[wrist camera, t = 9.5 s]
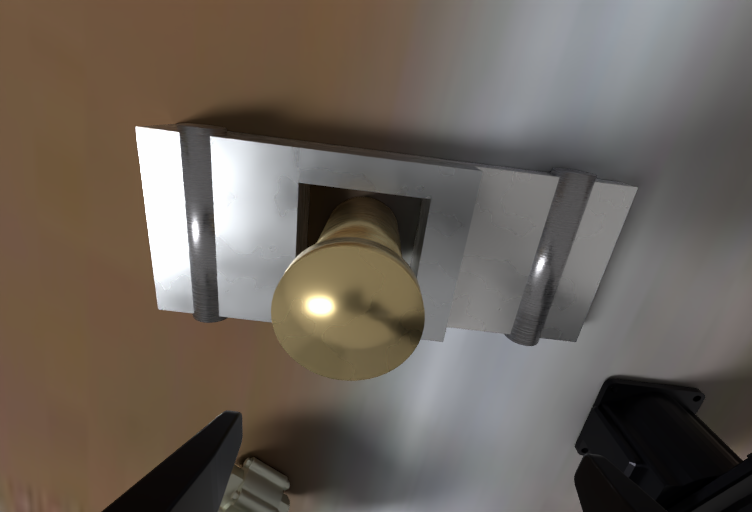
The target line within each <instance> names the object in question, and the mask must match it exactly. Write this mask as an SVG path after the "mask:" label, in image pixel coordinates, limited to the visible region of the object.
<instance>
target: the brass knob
mask: <svg viewBox="0 0 752 512" xmlns="http://www.w3.org/2000/svg"><path fill="white" fill-rule="evenodd" d="M271 320H272V325H273V329H274V331H275V334H276V337H277V338H278V340H279V342H280V344H281V345H282V347H283V348H284V350H285V351H286V352H287V353H288V354H289V355H290V356H291V357H292V358H293V359H294V360H295V361H296V362H297V363H299V364H300V365H302V366H303V367H305V368H306V369H308V370H310V371H312V372H314V373H316V374H319V375H321V376H324V377H328V378H332V379H337V380H347V381H355V380H365V379H370V378H374V377H378V376H380V375H383V374H386V373H388V372H389V371H391V370H393V369H395V368H396V367H398V366H399V365H401V364H402V363H403V362H404V361H405V360H406V359H407V358H408V357H409V356H410V355H411V354H412V353H413V351H414V350H415V348H416V347H417V345H418V343H419V341H420V339H421V337H422V333H423V330H424V323H425V310H424V304H423V299H422V295H421V290H420V286H419V283H418V280H417V278H416V276H415V274H414V272H413V271H412V269H411V268H410V266H409V265H408V264H407V263H406V262H405V260H404V259H403V258H402V253H401V245H400V237H399V229H398V223H397V220H396V218H395V216H394V214H393V212H392V211H391V210H390V209H389V208H388V207H387V206H386V205H385V204H384V203H382V202H381V201H378V200H376V199H374V198H370V197H354V198H351V199H348V200H346V201H344V202H342V203H341V204H339V205H338V206H337V207H336V208H335V209H334V210H333V212H332V214H331V215H330V217H329V219H328V221H327V223H326V225H325V227H324V229H323V231H322V233H321V235H320V237H319V239H318V241H317V243H316V244H314V245H312V246H310V247H309V248H307V249H306V250H304V251H303V252H301V253H300V254H299V255H298V256H297V257H296V258H295V259H294V260H293V261H292V263H291V264H290V265H289V267H288V268H287V270H286V272H285V273H284V275H283V277H282V278H281V280H280V281H279V283H278V285H277V287H276V289H275V292H274V295H273V299H272V304H271Z"/></svg>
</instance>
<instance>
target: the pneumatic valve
mask: <svg viewBox="0 0 752 512" xmlns="http://www.w3.org/2000/svg"><path fill="white" fill-rule="evenodd" d="M287 479H288V478H287V477H286V476H285V475H283V474H281V473H280V472H278V471H276V470H275V469H273V468H271V467H270V466H268V465H266V464H265V463H263V462H261V461H260V460H258V459H256V458H255V457H252V458H249V457H248V458H247V459H246V460H245V462H244V464H243V467H242V468H239V467H238V466H236V465H234V466H233V469H232V472H231V475H230V478H229V481H228V484H227V487H226V490H225V493H224V496H223V499H222V501H221V504H220V507H219V510H218V512H288V510H289V506H290V500H289V498H288V496H287V495H286V494H284V493H283V490H287V489H289V487H290V482H289V481H288V480H287Z"/></svg>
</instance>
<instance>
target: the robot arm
mask: <svg viewBox="0 0 752 512" xmlns="http://www.w3.org/2000/svg"><path fill="white" fill-rule="evenodd" d="M613 386H614V387H613ZM611 387H612V388H611ZM704 399H705V395H704V394H703V393H702V392H701V391H700V390H699V389H697V388H689V387H680V386H672V385H663V384H654V383H645V382H636V381H627V380H619V379H609V380H607V381H605V382H604V384H603V385H602V388H601V390H600V392H599V394H598V396H597V398H596V401H595V403H594V405H593V407H592V409H591V411H590V414H589V416H588V418H587V420H586V422H585V424H584V427H583V429H582V431H581V433H580V435H579V437H578V440H577V442H576V444H575V448H576V450H577V452H578V454H580V455H583V458H582V460H581V462H580V464H579V466H578V468H577V470H576V473H575V476H574V482H575V487H576V490H577V493H578V497H579V500H580V503H581V507H582V510H583V512H752V453H750V454H749V455H747V457H748V458H747V459H745V460H744V461H743V460H742V459H741V458H740V457H738V456H737V455H736V454H735V453H734V452H733V451H732V450H731V449H730V448H729V447H728V446H727V445H726V444H725V443H724V442H723V441H722V440H721V439H720V438H719V437H718V436H717V435H716V434H715V433H714V432H713V431H712V430H711V429H710V428H709V427H708V426H707V425H706V424H705V423H704V422H703V421H702V420H701V419H700V418H699V417H697V416H696V415H695V414H696V413H697V411H698V409H699V408H700V406H701V404H702V403H703V401H704ZM241 442H242V414H241V413H240V412H236V411H224V412H223V413H221V414H220V415H219V416H218V417H216V418H215V419H214V420H213V421H212V422H210V423H209V424H208V425H207V426H206V427H204V428H203V429H202V430H201V431H199V432H198V433H197V434H196V435H195V436H193V437H192V438H191V439H190V440H188V441H187V442H186V443H185V444H184V445H182V446H181V447H180V448H179V449H177V450H176V451H175V452H174V453H173V454H171V455H170V456H169V457H168V458H166V459H165V460H164V461H163V462H162V463H160V464H159V465H158V466H157V467H155V468H154V469H153V470H152V471H151V472H149V473H148V474H147V475H146V476H144V477H143V478H142V479H141V480H140V481H138V482H137V483H136V484H135V485H133V486H132V487H131V488H130V489H129V490H127V491H126V492H125V493H124V494H123V495H121V496H120V497H119V498H118V499H116V500H115V501H114V502H113V503H112V504H110V505H109V506H108V507H107V508H105V509H104V510H103V511H102V512H218V510H219V507H220V504H221V501H222V499H223V496H224V493H225V490H226V487H227V484H228V481H229V478H230V475H231V472H232V469H233V466H234V463H235V460H236V457H237V454H238V451H239V448H240V445H241Z"/></svg>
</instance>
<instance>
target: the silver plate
mask: <svg viewBox="0 0 752 512" xmlns="http://www.w3.org/2000/svg"><path fill="white" fill-rule="evenodd" d="M135 128H136V136H137V144H138V152H139V160H140V168H141V176H142V184H143V192H144V200H145V208H146V216H147V224H148V232H149V239H150V247H151V255H152V263H153V271H154V279H155V287H156V295H157V303H158V309H160V310H169V311H177V312H186V313H193V317H194V318H195V319H196V320H198V321H200V322H207V323H211V322H218V321H222V320H224V319H227V318H228V317H230V318H239V319H247V320H256V321H265V322H272V320H271V304H272V299H273V295H274V292H275V289H276V287H277V285H278V283H279V281H280V280H281V278H282V277H283V275H284V273H285V272H286V270H287V268H288V267H289V265H290V264H291V263H292V261H293V260H294V259H295V258H296V257H297V256H298V255H299V254H300V253H301V252H303V251H304V250H306V249H307V240H308V221H309V202H310V184H314V185H322V186H330V187H338V188H346V189H354V190H362V191H369V192H377V193H385V194H393V195H401V196H409V197H417V198H422V202H421V208H420V214H419V220H418V225H417V231H416V237H415V243H414V248H413V254H412V260H411V266H410V268H411V269H412V271H413V272H414V274H415V276H416V278H417V280H418V283H419V286H420V290H421V295H422V299H423V304H424V310H425V323H424V330H423V333H422V337H421V339H422V340H430V341H439V342H443V340H444V336H445V332H446V327H451V328H459V329H468V330H476V331H485V332H494V333H502V334H505V336H506V337H507V338H509V339H510V340H512V341H513V342H515V343H518V344H521V345H525V346H534V345H536V344H537V343H538V342H539V339H540V338H546V339H554V340H563V341H571V342H576V341H577V338H578V336H579V333H580V331H581V328H582V326H583V323H584V321H585V319H586V316H587V314H588V311H589V309H590V306H591V304H592V301H593V299H594V296H595V294H596V291H597V289H598V286H599V284H600V281H601V279H602V276H603V274H604V271H605V269H606V266H607V264H608V261H609V259H610V256H611V254H612V251H613V249H614V246H615V244H616V241H617V239H618V236H619V234H620V231H621V229H622V226H623V224H624V222H625V219H626V217H627V214H628V212H629V209H630V207H631V204H632V202H633V199H634V197H635V194H636V192H637V189H638V187H635V186H632V185H628V184H625V183H622V182H618V181H610V180H602V179H596V178H597V175H595V174H592V173H587V172H583V171H577V170H571V169H564V168H552V171H551V173H548V172H540V171H533V170H525V169H517V168H509V167H502V166H494V165H486V164H478V163H471V162H463V161H455V160H447V159H440V158H432V157H424V156H416V155H409V154H401V153H393V152H385V151H378V150H370V149H362V148H355V147H347V146H339V145H331V144H324V143H316V142H308V141H300V140H293V139H285V138H277V137H269V136H262V135H254V134H246V133H238V132H231V131H227V128H225V127H220V126H214V125H206V124H194V123H177V124H168V125H153V126H138V127H135Z"/></svg>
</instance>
